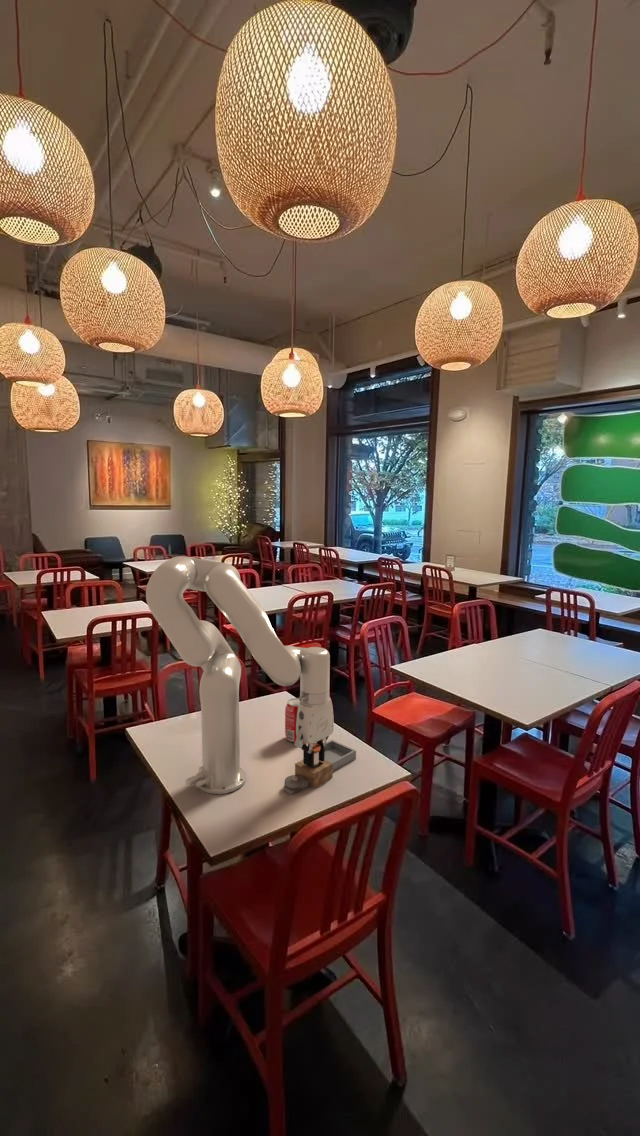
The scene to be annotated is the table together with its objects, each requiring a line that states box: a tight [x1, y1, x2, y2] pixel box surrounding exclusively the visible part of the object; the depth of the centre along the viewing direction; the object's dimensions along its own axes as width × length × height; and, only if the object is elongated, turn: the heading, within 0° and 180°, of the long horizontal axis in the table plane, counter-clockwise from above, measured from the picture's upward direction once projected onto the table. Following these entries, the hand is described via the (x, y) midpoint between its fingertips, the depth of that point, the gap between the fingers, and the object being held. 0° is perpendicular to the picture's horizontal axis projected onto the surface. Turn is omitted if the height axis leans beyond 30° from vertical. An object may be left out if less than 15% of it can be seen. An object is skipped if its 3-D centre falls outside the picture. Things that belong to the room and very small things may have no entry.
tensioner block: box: [282, 759, 334, 796], centre depth 132 cm, size 13×7×4 cm, turn 137°
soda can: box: [284, 697, 300, 743], centre depth 155 cm, size 7×7×12 cm
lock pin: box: [311, 742, 321, 769], centre depth 133 cm, size 3×3×9 cm
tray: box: [324, 739, 357, 772], centre depth 143 cm, size 11×9×2 cm
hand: (313, 761), depth 133 cm, fingers closed on lock pin, 3 cm apart
